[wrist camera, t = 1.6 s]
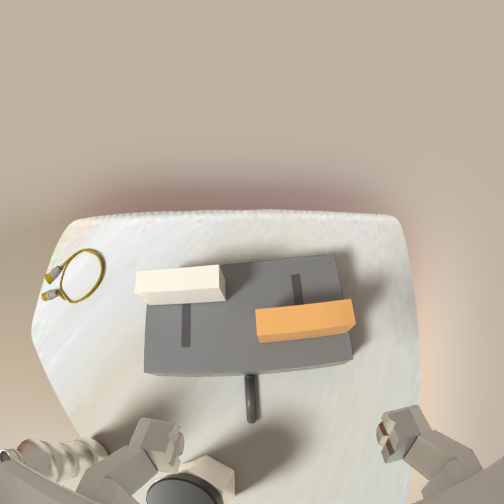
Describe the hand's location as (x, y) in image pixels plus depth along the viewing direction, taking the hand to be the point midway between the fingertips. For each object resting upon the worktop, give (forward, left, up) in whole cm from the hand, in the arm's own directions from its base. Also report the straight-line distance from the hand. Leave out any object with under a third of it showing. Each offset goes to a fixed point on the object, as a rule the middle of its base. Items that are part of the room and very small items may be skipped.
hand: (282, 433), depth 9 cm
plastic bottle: (-1, +31, -29) cm, 42 cm away
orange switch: (+8, -7, -23) cm, 25 cm away
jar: (-8, +14, -29) cm, 33 cm away
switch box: (+10, +1, -28) cm, 30 cm away
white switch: (+18, +6, -23) cm, 30 cm away
